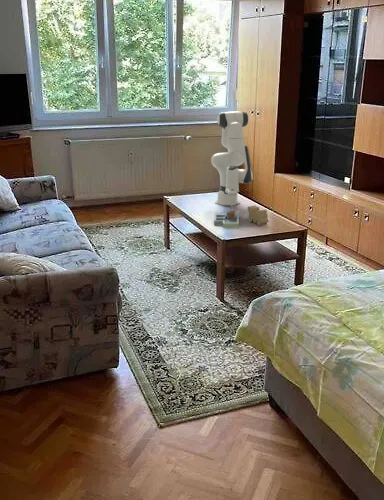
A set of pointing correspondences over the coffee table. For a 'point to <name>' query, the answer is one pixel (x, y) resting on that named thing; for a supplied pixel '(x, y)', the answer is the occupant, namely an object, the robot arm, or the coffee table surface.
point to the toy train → (257, 215)
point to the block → (230, 214)
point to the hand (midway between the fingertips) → (232, 209)
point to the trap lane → (220, 220)
